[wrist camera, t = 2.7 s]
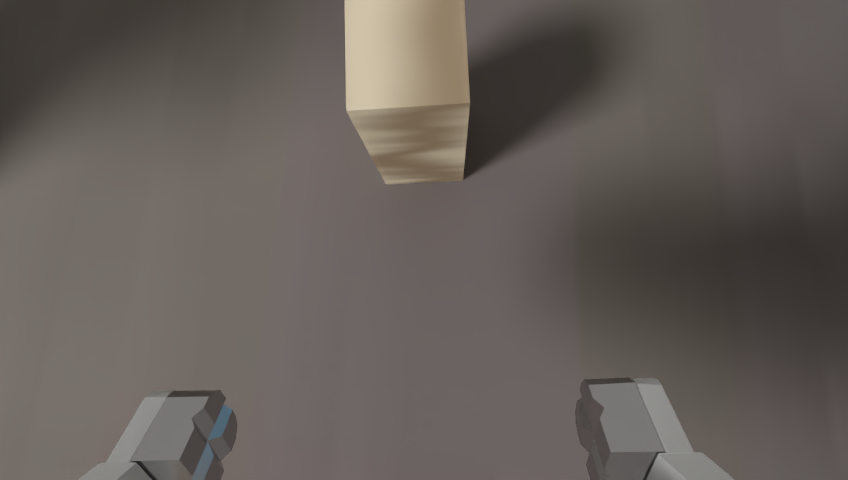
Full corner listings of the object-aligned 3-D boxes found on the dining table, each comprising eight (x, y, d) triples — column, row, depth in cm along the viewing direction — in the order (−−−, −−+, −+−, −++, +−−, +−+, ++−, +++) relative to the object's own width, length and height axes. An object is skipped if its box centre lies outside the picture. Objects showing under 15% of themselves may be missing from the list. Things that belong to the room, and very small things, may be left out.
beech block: (386, 184, 26) (346, 110, 16) (384, 112, 27) (344, -2, 17) (463, 180, 26) (469, 102, 16) (459, 107, 26) (463, -11, 17)
